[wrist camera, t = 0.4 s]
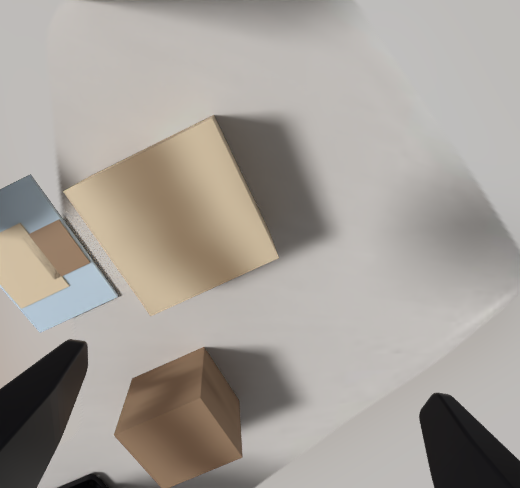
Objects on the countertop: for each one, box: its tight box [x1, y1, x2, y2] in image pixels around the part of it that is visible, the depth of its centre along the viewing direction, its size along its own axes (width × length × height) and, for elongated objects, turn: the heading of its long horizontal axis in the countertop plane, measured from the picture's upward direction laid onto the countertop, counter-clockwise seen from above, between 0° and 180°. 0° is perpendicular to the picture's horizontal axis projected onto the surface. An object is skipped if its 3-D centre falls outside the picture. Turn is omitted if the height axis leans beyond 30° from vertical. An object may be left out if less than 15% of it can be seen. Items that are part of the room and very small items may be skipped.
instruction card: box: [0, 174, 118, 332], centre depth 22 cm, size 6×9×1 cm, turn 24°
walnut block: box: [114, 347, 242, 488], centre depth 25 cm, size 6×6×5 cm
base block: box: [63, 115, 279, 316], centre depth 20 cm, size 8×8×4 cm
